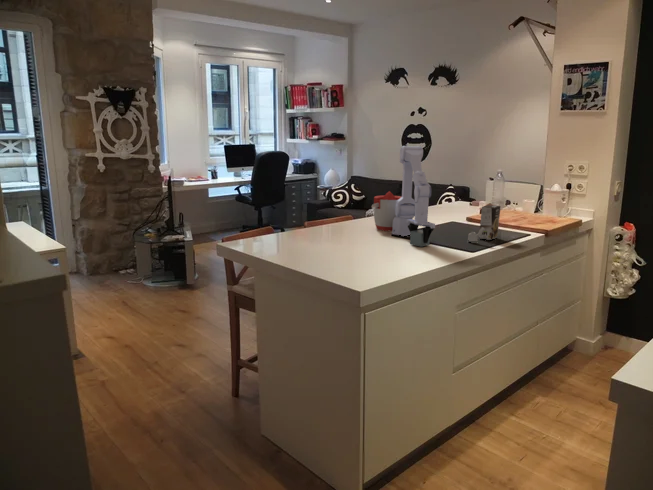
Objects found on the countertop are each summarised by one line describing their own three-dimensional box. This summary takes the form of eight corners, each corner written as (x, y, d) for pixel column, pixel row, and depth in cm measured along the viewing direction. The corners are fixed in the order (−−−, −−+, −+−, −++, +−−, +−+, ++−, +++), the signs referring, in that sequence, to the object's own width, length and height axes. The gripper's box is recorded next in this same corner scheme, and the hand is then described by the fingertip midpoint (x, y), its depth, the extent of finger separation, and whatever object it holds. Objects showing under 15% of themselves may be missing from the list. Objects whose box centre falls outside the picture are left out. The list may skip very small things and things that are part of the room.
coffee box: (491, 241, 244) (494, 208, 241) (478, 239, 248) (481, 206, 244) (498, 238, 251) (501, 205, 248) (485, 236, 255) (488, 204, 251)
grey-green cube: (409, 244, 233) (410, 231, 232) (418, 242, 237) (419, 229, 235) (420, 246, 228) (421, 233, 227) (429, 244, 232) (430, 231, 231)
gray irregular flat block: (467, 242, 241) (468, 226, 239) (469, 242, 242) (470, 225, 240) (482, 245, 236) (483, 228, 235) (483, 244, 238) (485, 227, 236)
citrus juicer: (364, 227, 272) (365, 190, 267) (392, 225, 279) (394, 189, 275) (379, 233, 258) (381, 193, 254) (408, 231, 265) (410, 192, 261)
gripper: (403, 210, 232) (401, 239, 235) (428, 215, 221) (426, 245, 224) (413, 209, 236) (411, 237, 239) (438, 213, 226) (436, 243, 229)
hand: (419, 241), depth 232 cm, fingers closed on grey-green cube, 6 cm apart
